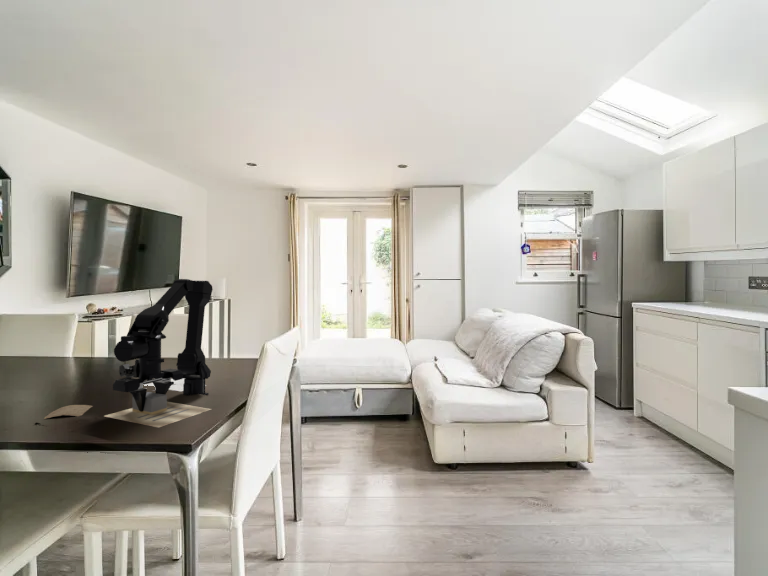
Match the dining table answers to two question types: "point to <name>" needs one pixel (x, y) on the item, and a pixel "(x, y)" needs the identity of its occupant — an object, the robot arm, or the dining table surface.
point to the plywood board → (159, 415)
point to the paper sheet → (173, 385)
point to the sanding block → (152, 403)
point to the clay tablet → (69, 411)
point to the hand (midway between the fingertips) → (149, 408)
